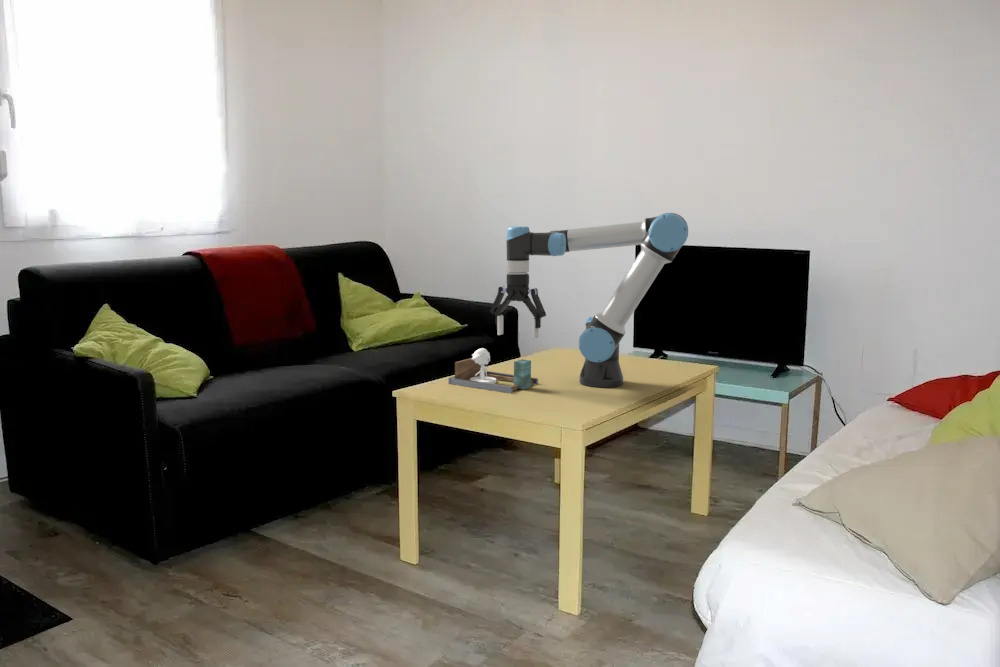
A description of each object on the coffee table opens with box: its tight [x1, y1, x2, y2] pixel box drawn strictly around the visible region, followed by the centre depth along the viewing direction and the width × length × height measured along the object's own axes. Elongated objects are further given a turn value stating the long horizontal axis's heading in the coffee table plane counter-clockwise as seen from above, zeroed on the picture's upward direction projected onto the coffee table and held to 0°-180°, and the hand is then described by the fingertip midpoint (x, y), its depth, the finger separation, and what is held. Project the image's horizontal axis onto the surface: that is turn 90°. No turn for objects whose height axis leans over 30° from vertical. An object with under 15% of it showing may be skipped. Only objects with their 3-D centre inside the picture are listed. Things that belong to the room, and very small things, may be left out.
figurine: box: [469, 347, 497, 384], centre depth 299 cm, size 9×9×12 cm
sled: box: [454, 357, 534, 392], centre depth 296 cm, size 25×14×9 cm, turn 57°
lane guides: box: [448, 370, 539, 394], centre depth 297 cm, size 25×17×2 cm
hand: (517, 336), depth 291 cm, fingers open, 13 cm apart
